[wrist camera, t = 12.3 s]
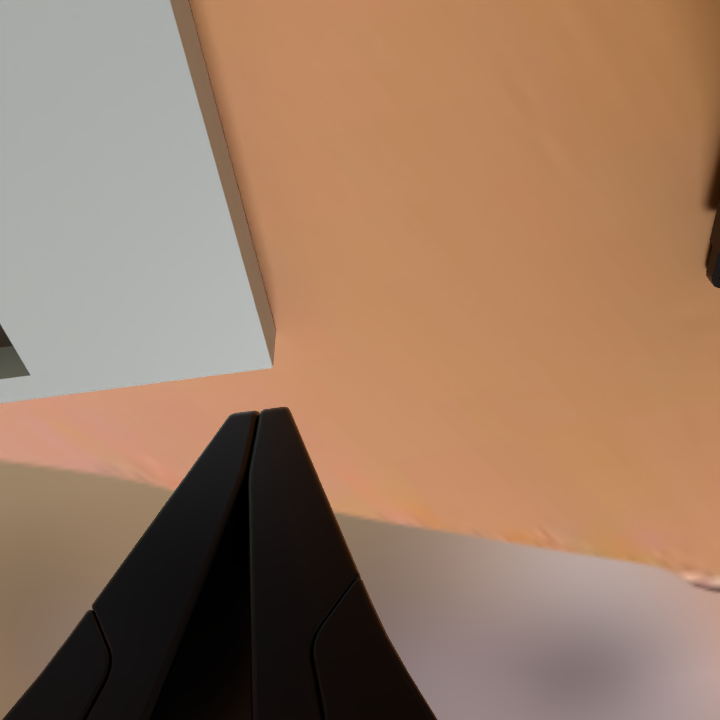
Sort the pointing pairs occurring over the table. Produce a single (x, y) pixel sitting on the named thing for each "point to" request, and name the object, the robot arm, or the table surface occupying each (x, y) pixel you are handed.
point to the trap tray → (118, 205)
